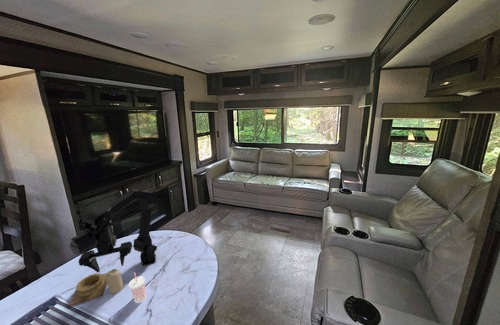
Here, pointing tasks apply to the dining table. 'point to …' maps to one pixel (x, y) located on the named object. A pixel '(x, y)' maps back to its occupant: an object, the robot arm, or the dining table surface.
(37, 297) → the dining table surface
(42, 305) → the dining table surface
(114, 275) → the candle
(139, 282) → the beverage cup
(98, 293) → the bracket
